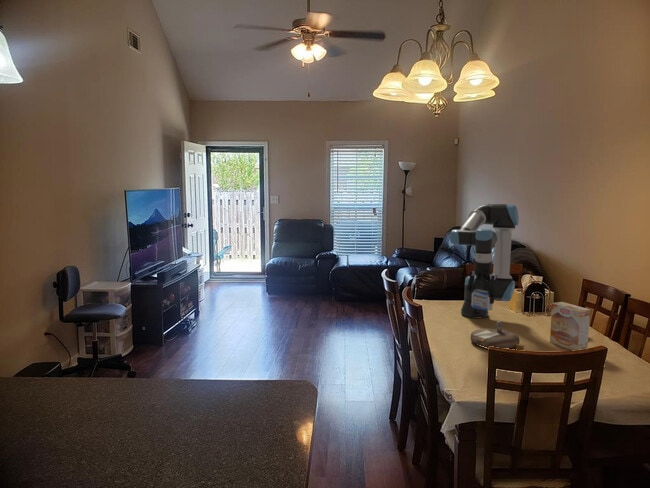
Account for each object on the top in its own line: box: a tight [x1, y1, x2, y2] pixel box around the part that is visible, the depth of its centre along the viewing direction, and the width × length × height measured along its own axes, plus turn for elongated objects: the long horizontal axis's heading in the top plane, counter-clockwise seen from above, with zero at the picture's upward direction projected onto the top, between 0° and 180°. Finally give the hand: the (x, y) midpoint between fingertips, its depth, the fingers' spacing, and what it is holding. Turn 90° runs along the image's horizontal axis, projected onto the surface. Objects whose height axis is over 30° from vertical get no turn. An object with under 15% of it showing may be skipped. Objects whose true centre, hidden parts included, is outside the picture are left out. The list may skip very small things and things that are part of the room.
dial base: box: [487, 343, 525, 351], centre depth 215 cm, size 24×19×3 cm
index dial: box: [470, 320, 521, 349], centre depth 216 cm, size 22×22×7 cm
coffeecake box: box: [549, 301, 591, 351], centre depth 211 cm, size 15×7×20 cm, turn 23°
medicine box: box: [472, 289, 489, 312], centre depth 216 cm, size 8×4×9 cm, turn 46°
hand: (481, 307), depth 217 cm, fingers closed on medicine box, 8 cm apart
